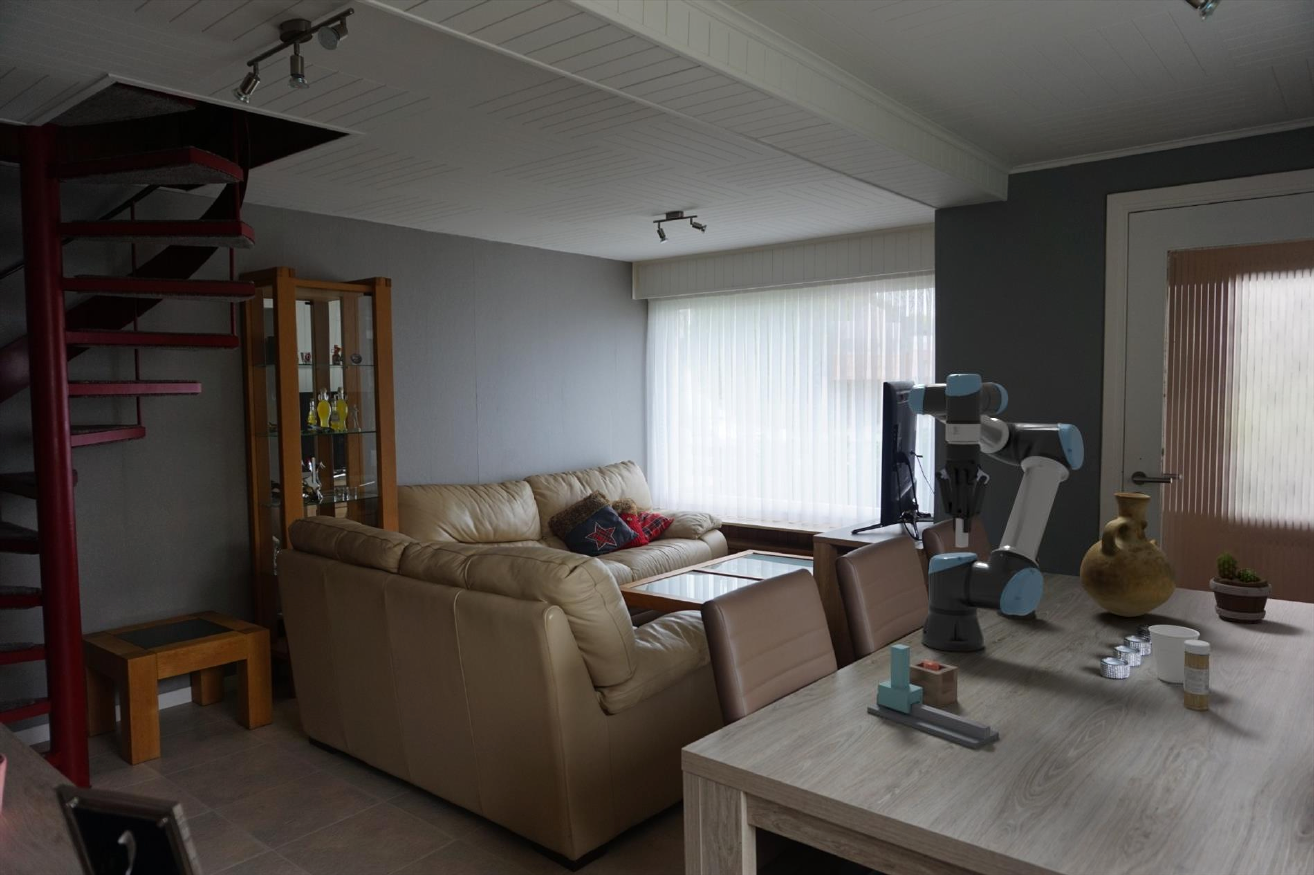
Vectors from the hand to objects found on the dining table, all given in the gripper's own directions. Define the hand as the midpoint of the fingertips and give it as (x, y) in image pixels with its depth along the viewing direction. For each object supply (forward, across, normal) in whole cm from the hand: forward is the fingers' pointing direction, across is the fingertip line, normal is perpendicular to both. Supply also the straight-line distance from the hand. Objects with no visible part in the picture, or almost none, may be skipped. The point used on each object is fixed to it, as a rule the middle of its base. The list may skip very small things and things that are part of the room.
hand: (961, 546), depth 197 cm
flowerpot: (+30, +23, +102) cm, 109 cm away
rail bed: (+29, +13, -31) cm, 45 cm away
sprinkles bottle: (+30, +42, +18) cm, 54 cm away
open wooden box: (+29, +5, -19) cm, 35 cm away
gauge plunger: (+26, +5, -19) cm, 33 cm away
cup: (+30, +32, +33) cm, 55 cm away
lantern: (+30, -20, +60) cm, 70 cm away
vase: (+30, +1, +82) cm, 87 cm away
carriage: (+28, +6, -31) cm, 42 cm away
